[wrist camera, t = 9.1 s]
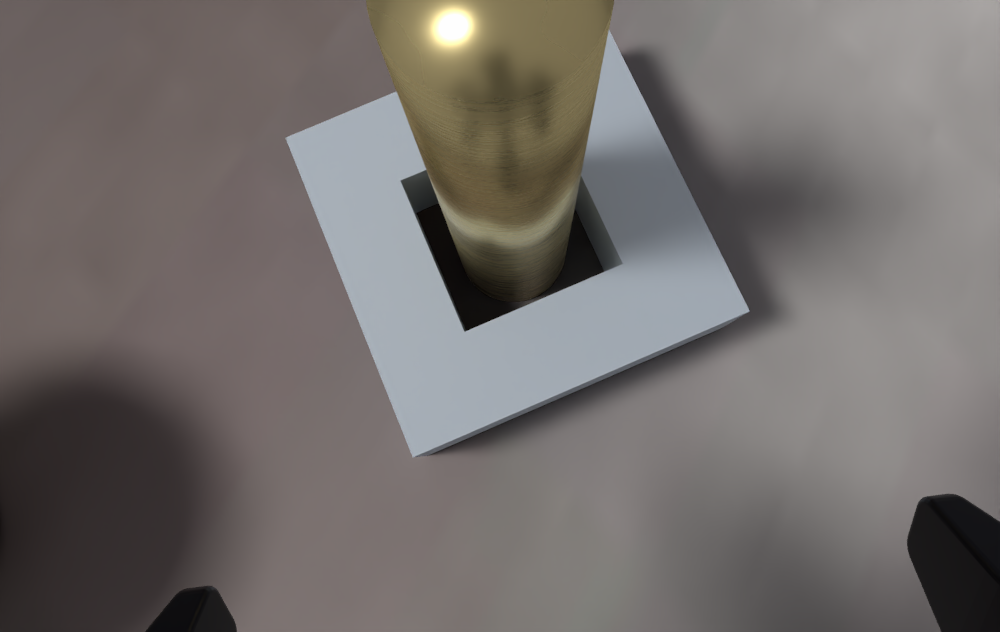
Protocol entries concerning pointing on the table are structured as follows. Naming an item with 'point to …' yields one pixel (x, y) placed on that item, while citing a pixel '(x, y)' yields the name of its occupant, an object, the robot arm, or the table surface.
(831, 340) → the table surface
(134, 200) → the table surface
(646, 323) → the socket block
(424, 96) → the pin
